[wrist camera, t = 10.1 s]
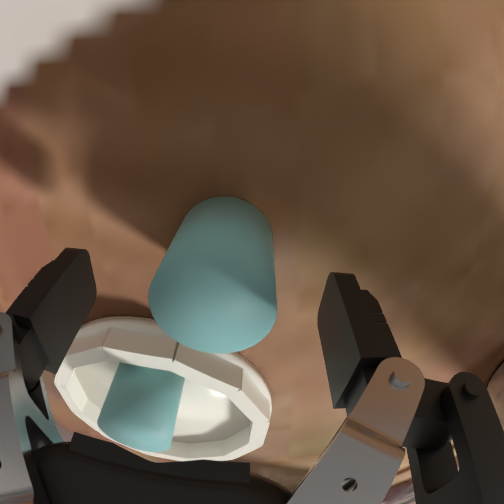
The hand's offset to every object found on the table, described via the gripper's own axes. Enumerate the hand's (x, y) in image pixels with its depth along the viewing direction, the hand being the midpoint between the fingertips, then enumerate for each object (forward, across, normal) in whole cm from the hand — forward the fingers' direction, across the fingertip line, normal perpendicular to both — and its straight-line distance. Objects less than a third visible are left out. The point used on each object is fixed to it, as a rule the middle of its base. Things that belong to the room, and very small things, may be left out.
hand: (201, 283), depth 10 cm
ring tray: (+4, +3, +13) cm, 14 cm away
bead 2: (+4, 0, 0) cm, 4 cm away
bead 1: (+3, +4, +9) cm, 10 cm away
